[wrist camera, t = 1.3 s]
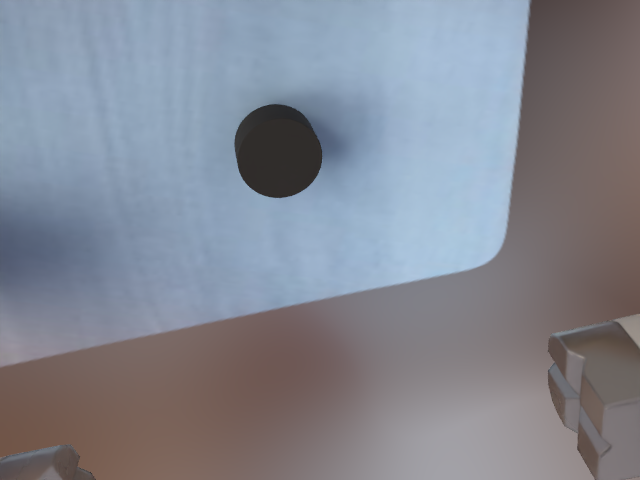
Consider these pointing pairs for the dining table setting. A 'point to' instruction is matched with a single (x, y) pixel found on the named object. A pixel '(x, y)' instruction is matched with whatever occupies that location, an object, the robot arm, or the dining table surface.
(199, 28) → the dining table surface
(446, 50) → the dining table surface
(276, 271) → the dining table surface
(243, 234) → the dining table surface
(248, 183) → the cylinder
